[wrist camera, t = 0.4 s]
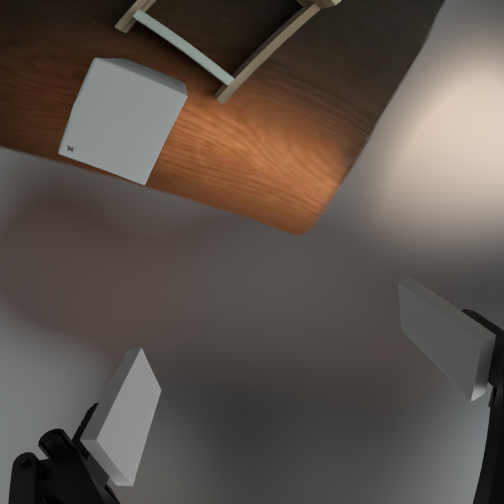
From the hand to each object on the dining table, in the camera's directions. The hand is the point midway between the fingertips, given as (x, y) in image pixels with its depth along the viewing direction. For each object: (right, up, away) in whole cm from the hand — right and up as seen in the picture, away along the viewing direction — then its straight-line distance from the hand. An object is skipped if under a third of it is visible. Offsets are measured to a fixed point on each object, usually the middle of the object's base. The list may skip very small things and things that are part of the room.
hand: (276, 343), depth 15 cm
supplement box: (-15, +23, +20) cm, 34 cm away
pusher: (-9, +29, +17) cm, 34 cm away
